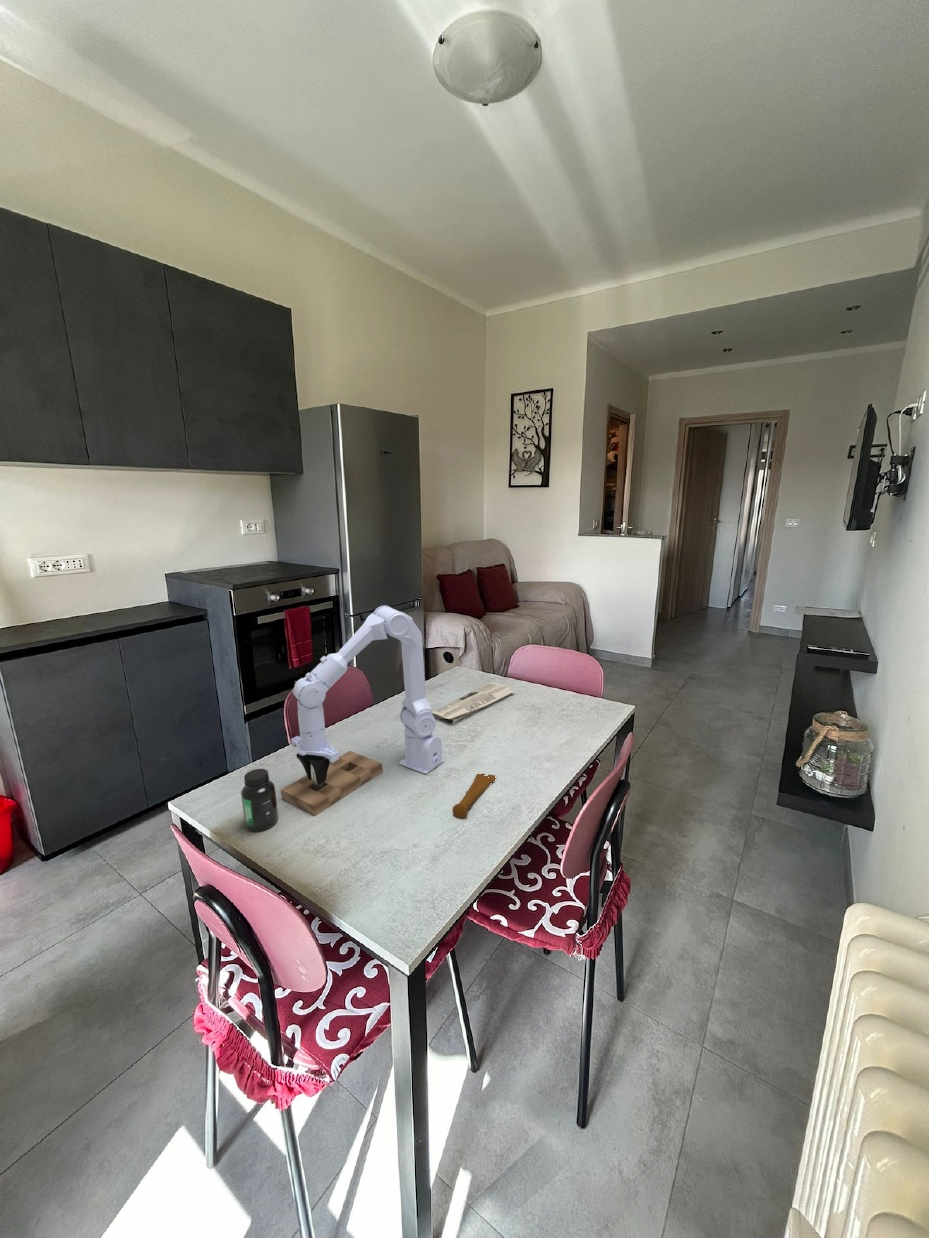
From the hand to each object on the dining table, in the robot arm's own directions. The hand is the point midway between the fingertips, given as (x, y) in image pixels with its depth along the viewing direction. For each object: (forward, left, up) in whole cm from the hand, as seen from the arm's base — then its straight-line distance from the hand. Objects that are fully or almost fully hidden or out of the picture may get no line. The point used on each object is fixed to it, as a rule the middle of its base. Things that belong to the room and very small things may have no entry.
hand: (317, 779), depth 119 cm
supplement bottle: (+2, +14, -4) cm, 15 cm away
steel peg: (0, 0, -3) cm, 3 cm away
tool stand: (0, -5, -4) cm, 6 cm away
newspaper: (-3, -65, -5) cm, 65 cm away
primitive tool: (-31, -21, -5) cm, 38 cm away
